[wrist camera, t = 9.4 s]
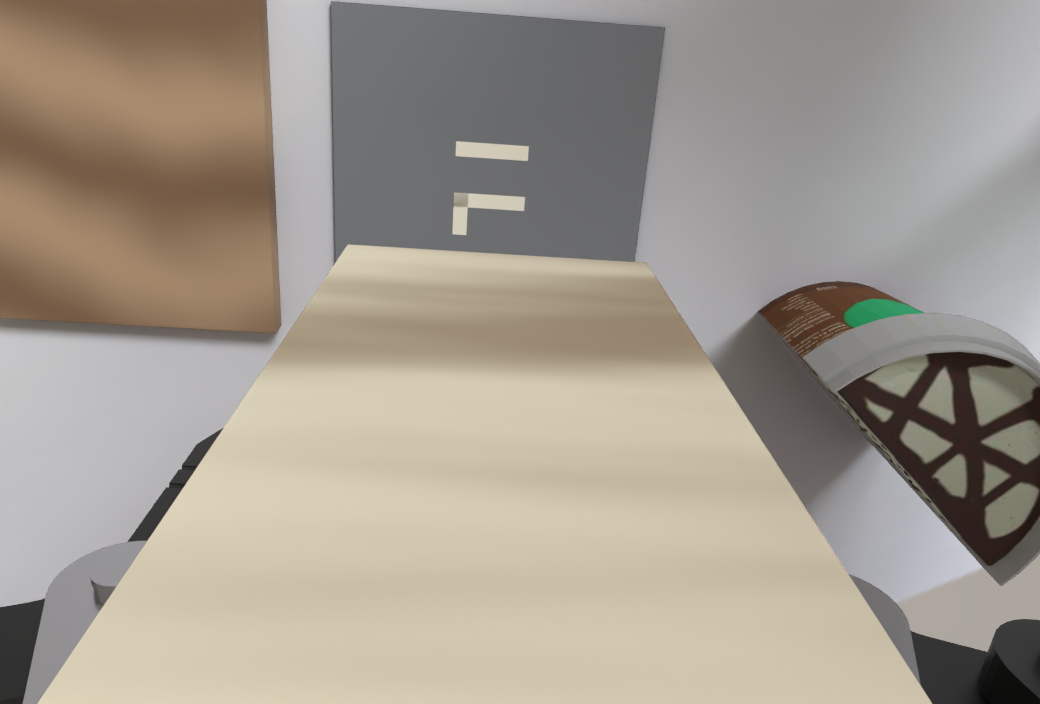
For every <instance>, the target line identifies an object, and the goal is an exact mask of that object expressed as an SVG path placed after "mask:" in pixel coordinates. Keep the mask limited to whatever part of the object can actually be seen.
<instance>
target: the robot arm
mask: <svg viewBox="0 0 1040 704" xmlns="http://www.w3.org/2000/svg"><path fill="white" fill-rule="evenodd" d="M222 430H223V428H222V429H221V430H219V431H218V432H216V433H214V434H213V435H211V436H209V437H208V438H206V439H205V440H203V441H201V442H200V443H198V444H197V445H196V446H195V448H194V449H193V451H192V452H191V454H190V455H189V456H188V458H187V459H186V461H185V462H184V463H183V465H182V470H178V472H177V473H176V475H175V476H174V477H173V479H172V480H171V482H170V485H169V488H166V489H165V490H164V491H163V493H162V494H161V496H160V497H159V498H158V500H157V501H156V503H155V504H154V506H153V507H152V508H151V510H150V511H149V513H148V514H147V515H146V517H145V518H144V520H143V521H142V522H141V524H140V525H139V527H138V528H137V529H136V531H135V532H134V534H133V535H132V536H131V538H130V539H129V541H128V542H125V543H120V544H115V545H112V546H108V547H105V548H102V549H99V550H97V551H94V552H91V553H89V554H87V555H85V556H83V557H81V558H79V559H78V560H76V561H75V562H73V563H72V564H70V565H69V566H67V567H66V568H65V569H64V570H62V571H61V572H60V573H59V574H58V575H57V577H56V578H55V579H54V580H53V582H52V583H51V585H50V586H49V588H48V591H47V594H46V598H45V599H42V600H38V601H33V602H29V603H24V604H18V605H12V606H6V607H0V704H38V702H39V701H40V699H41V698H42V696H43V695H44V693H45V692H46V690H47V689H48V687H49V686H50V684H51V683H52V681H53V680H54V678H55V677H56V675H57V674H58V672H59V671H60V669H61V668H62V667H63V665H64V664H65V662H66V661H67V659H68V658H69V656H70V655H71V653H72V652H73V650H74V649H75V647H76V646H77V644H78V643H79V641H80V640H81V638H82V637H83V635H84V634H85V633H86V631H87V630H88V628H89V627H90V625H91V624H92V622H93V621H94V619H95V618H96V616H97V615H98V613H99V612H100V610H101V609H102V607H103V606H104V604H105V603H106V601H107V600H108V598H109V597H110V596H111V594H112V593H113V591H114V590H115V588H116V587H117V585H118V584H119V582H120V581H121V579H122V578H123V576H124V575H125V573H126V572H127V570H128V569H129V567H130V566H131V564H132V563H133V561H134V560H135V559H136V557H137V556H138V554H139V553H140V551H141V550H142V548H143V547H144V545H145V544H146V542H147V541H148V539H149V538H150V536H151V535H152V533H153V532H154V530H155V529H156V527H157V526H158V525H159V523H160V522H161V520H162V519H163V517H164V516H165V514H166V513H167V511H168V510H169V508H170V507H171V505H172V504H173V502H174V501H175V499H176V498H177V496H178V495H179V493H180V492H181V490H182V489H183V488H184V486H185V485H186V483H187V482H188V480H189V479H190V477H191V476H192V474H193V473H194V471H195V470H196V468H197V467H198V465H199V464H200V462H201V461H202V459H203V458H204V456H205V455H206V453H207V452H208V451H209V449H210V448H211V446H212V445H213V443H214V442H215V440H216V439H217V437H218V436H219V434H220V433H221V431H222ZM849 576H850V577H851V579H852V581H853V582H854V584H855V585H856V587H857V588H858V590H859V591H860V593H861V594H862V596H863V597H864V599H865V601H866V602H867V604H868V605H869V607H870V608H871V610H872V611H873V613H874V614H875V616H876V618H877V619H878V621H879V622H880V624H881V625H882V627H883V628H884V630H885V631H886V633H887V634H888V636H889V638H890V639H891V641H892V642H893V644H894V645H895V647H896V648H897V650H898V651H899V653H900V655H901V656H902V658H903V659H904V661H905V662H906V664H907V665H908V667H909V668H910V670H911V672H912V673H913V675H914V676H915V678H916V679H917V681H918V682H919V684H920V685H921V687H922V688H923V690H924V692H925V693H926V695H927V696H928V698H929V699H930V701H931V702H932V704H1040V621H1039V620H1030V619H1021V620H1013V621H1009V622H1006V623H1004V624H1002V625H1001V626H1000V627H999V628H998V629H997V630H996V632H995V634H994V637H993V640H992V642H991V645H990V647H989V650H988V652H985V651H981V650H977V649H974V648H970V647H966V646H961V645H957V644H954V643H950V642H946V641H942V640H938V639H935V638H931V637H927V636H924V635H920V634H917V633H915V632H912V631H910V626H909V623H908V620H907V618H906V616H905V614H904V613H903V611H902V610H901V608H900V607H899V606H898V605H897V603H895V602H894V601H893V600H892V599H891V598H890V597H889V596H888V595H887V594H885V593H884V592H883V591H881V590H880V589H878V588H877V587H875V586H873V585H872V584H870V583H868V582H866V581H864V580H862V579H860V578H857V577H855V576H852V575H850V574H849Z"/></svg>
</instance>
